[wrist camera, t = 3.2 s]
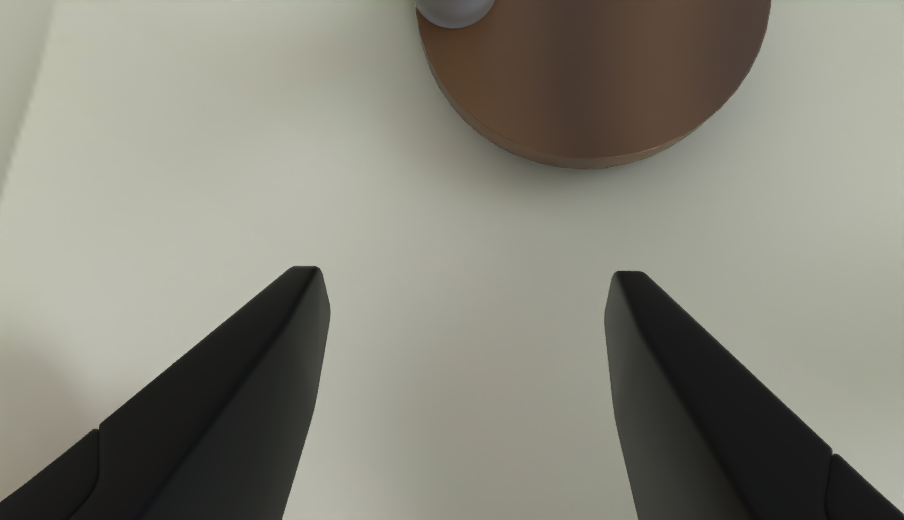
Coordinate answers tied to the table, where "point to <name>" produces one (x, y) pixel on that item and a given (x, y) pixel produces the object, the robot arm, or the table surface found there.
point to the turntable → (589, 71)
